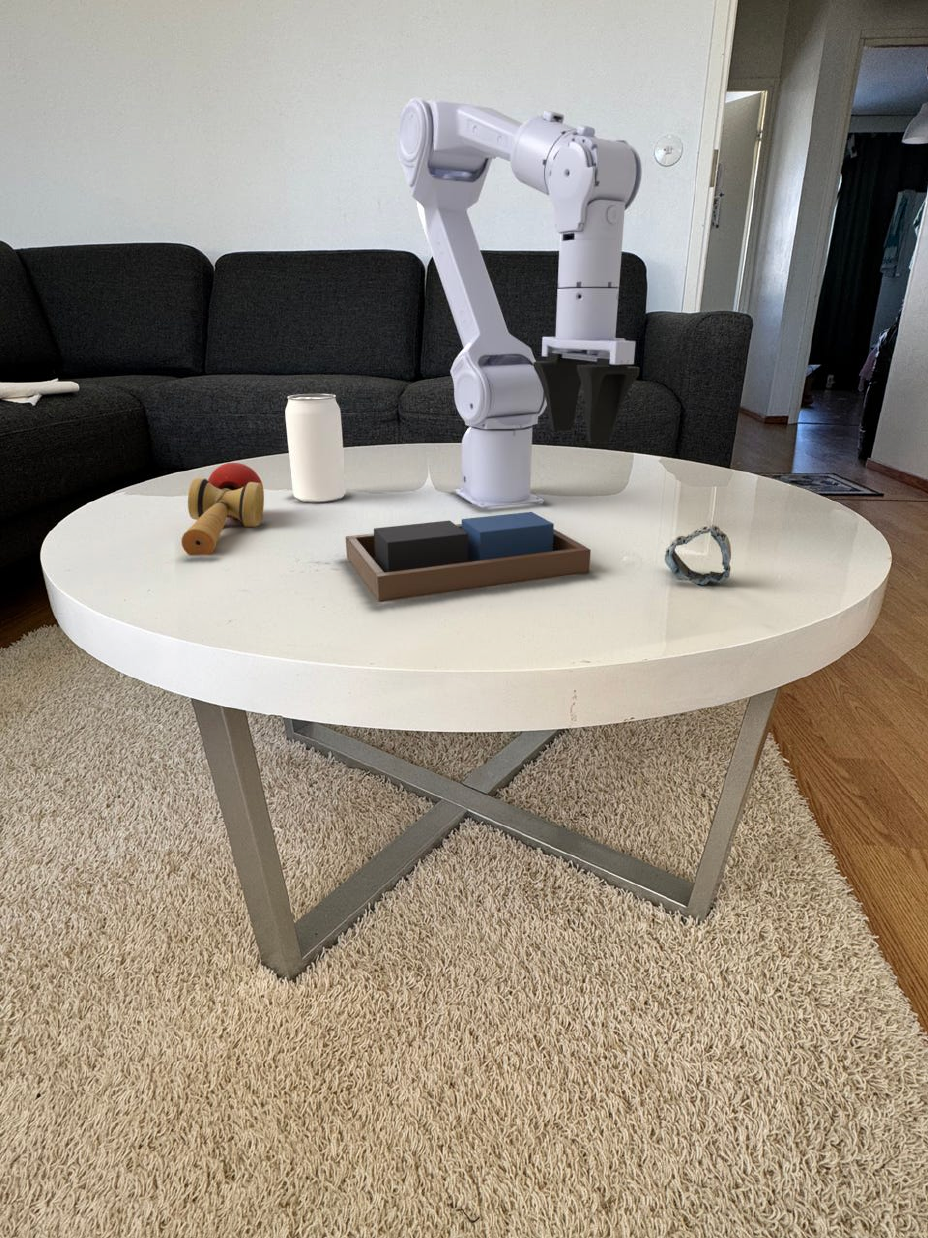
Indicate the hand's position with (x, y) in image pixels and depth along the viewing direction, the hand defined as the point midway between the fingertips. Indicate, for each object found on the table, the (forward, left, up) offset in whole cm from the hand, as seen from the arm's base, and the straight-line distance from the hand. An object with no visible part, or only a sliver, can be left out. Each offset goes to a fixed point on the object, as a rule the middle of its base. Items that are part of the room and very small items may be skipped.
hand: (579, 435), depth 73 cm
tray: (+9, -16, -9) cm, 21 cm away
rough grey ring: (+19, +1, -10) cm, 21 cm away
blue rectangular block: (+9, -12, -9) cm, 17 cm away
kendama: (-11, -35, -10) cm, 38 cm away
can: (-23, -23, -10) cm, 34 cm away
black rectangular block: (+9, -20, -9) cm, 24 cm away
